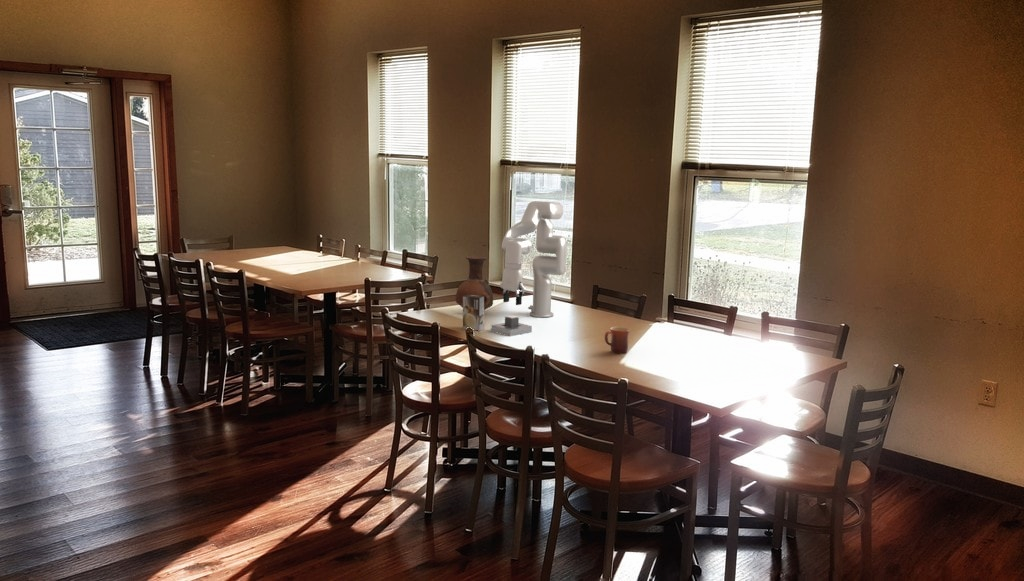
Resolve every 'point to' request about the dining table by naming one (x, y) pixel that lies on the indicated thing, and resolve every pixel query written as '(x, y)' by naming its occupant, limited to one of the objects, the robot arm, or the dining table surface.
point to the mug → (618, 339)
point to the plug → (511, 321)
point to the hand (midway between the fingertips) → (512, 303)
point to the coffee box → (473, 312)
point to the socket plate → (511, 329)
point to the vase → (475, 283)
